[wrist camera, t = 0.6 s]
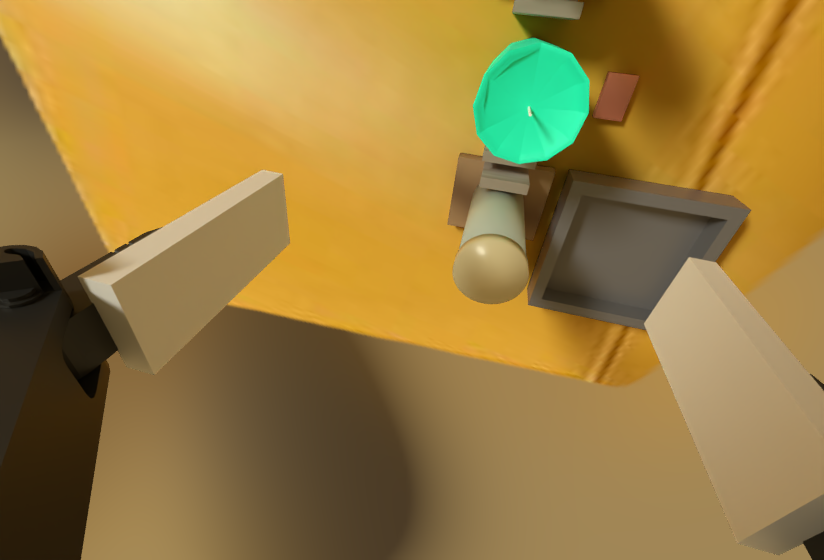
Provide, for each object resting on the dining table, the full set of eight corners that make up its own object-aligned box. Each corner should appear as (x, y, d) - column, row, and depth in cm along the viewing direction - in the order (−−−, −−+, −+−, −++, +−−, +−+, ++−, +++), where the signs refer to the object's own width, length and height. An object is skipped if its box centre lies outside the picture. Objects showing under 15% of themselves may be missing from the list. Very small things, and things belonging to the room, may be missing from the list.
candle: (586, 70, 26) (626, 95, 17) (528, 141, 30) (535, 195, 20) (520, 18, 26) (523, 12, 16) (469, 97, 29) (447, 131, 20)
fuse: (476, 170, 31) (459, 234, 21) (531, 179, 30) (538, 250, 21) (466, 219, 34) (447, 295, 24) (516, 228, 33) (517, 310, 24)
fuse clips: (514, -166, 21) (513, -213, 17) (730, -156, 20) (788, -205, 15) (449, 220, 36) (440, 246, 31) (569, 243, 34) (577, 273, 30)
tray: (569, 169, 30) (573, 180, 28) (732, 195, 29) (751, 210, 27) (527, 288, 38) (528, 304, 36) (655, 315, 36) (664, 334, 34)
